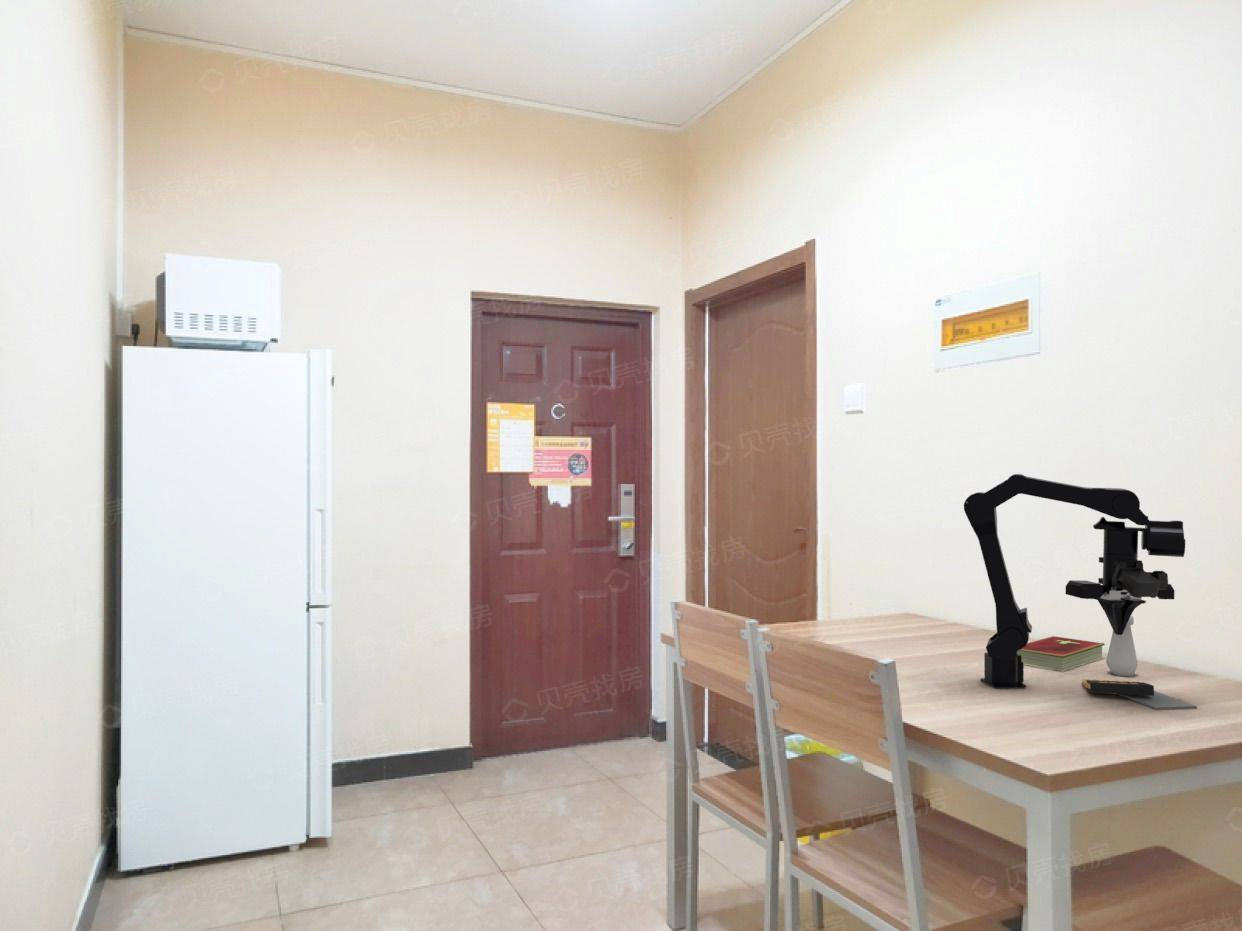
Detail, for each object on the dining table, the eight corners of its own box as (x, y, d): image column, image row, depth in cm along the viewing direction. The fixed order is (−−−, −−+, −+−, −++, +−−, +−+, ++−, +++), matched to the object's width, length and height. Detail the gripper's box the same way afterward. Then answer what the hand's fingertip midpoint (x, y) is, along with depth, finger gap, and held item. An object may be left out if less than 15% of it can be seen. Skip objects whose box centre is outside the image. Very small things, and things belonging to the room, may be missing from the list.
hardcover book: (1009, 664, 194) (1009, 646, 194) (1051, 652, 208) (1051, 634, 208) (1063, 674, 185) (1063, 654, 185) (1104, 660, 198) (1104, 642, 198)
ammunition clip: (1090, 682, 165) (1077, 676, 176) (1090, 692, 165) (1078, 685, 176) (1153, 685, 162) (1137, 678, 173) (1154, 695, 161) (1137, 688, 173)
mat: (1155, 709, 156) (1155, 707, 156) (1112, 692, 168) (1112, 690, 168) (1197, 708, 157) (1197, 706, 157) (1150, 691, 169) (1150, 689, 169)
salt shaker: (1106, 675, 182) (1106, 614, 182) (1105, 669, 187) (1105, 610, 187) (1138, 678, 179) (1138, 616, 179) (1136, 672, 184) (1136, 612, 185)
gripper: (1101, 558, 156) (1099, 643, 157) (1197, 559, 158) (1195, 643, 158) (1064, 551, 168) (1062, 631, 168) (1154, 552, 169) (1152, 631, 169)
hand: (1118, 634), depth 165 cm, fingers closed
